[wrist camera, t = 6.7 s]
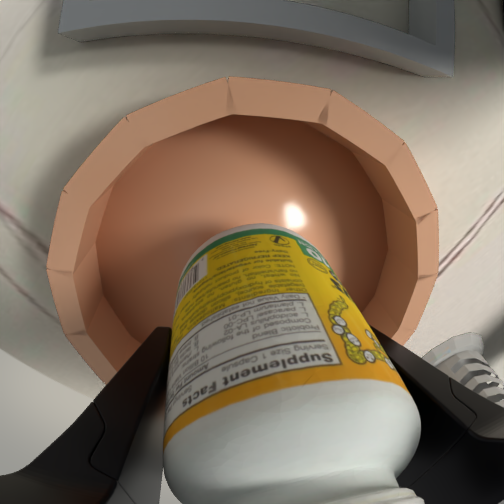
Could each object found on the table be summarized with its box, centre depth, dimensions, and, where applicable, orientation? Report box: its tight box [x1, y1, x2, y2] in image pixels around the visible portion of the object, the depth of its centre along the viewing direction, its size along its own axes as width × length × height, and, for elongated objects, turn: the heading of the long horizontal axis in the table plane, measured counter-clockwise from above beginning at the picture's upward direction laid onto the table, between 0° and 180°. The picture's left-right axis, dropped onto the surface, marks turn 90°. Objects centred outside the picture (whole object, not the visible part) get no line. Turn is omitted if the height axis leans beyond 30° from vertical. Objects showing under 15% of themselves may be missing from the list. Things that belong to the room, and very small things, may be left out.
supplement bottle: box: [163, 223, 425, 504], centre depth 7 cm, size 5×5×10 cm
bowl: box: [46, 76, 439, 385], centre depth 12 cm, size 14×14×4 cm
